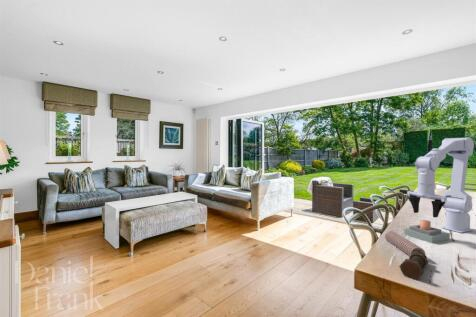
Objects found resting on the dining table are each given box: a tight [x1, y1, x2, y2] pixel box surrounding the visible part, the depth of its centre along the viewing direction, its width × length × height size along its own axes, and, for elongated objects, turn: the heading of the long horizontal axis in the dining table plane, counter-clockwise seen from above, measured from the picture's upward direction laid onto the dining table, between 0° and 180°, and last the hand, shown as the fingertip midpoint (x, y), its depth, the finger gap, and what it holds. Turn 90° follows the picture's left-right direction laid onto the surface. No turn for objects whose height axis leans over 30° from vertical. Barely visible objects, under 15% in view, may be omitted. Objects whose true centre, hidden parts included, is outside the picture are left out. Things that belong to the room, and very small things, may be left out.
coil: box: [384, 230, 426, 257], centre depth 89 cm, size 5×5×18 cm
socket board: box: [404, 224, 451, 244], centre depth 103 cm, size 12×11×4 cm
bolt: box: [398, 252, 429, 281], centre depth 74 cm, size 6×5×15 cm
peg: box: [419, 219, 432, 230], centre depth 102 cm, size 4×4×7 cm
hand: (425, 214), depth 102 cm, fingers open, 7 cm apart
